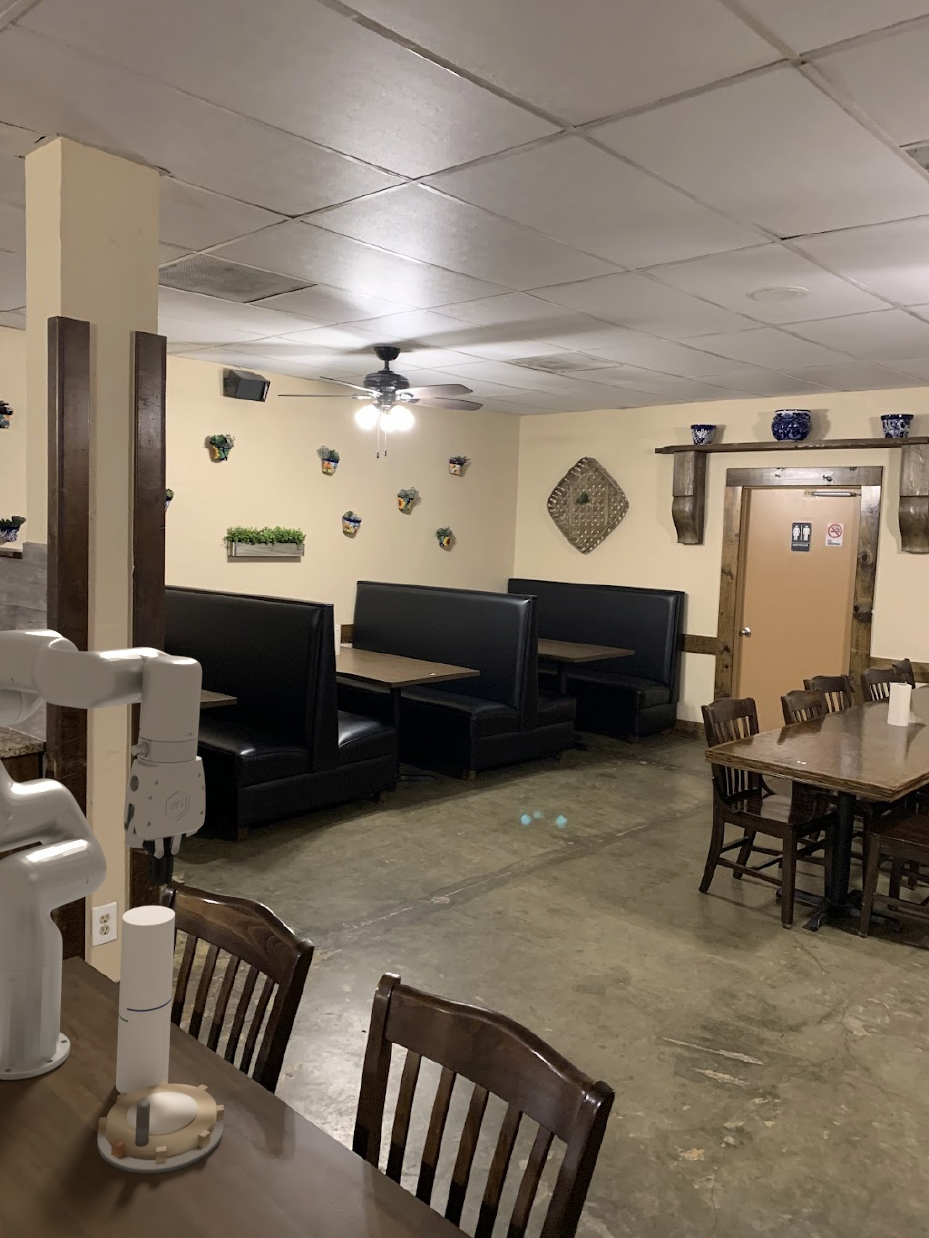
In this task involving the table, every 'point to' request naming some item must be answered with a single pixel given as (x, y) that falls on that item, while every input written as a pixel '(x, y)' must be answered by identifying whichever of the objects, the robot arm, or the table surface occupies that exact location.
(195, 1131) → the dial
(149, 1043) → the cylindrical container
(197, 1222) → the table surface
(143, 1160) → the dial base
